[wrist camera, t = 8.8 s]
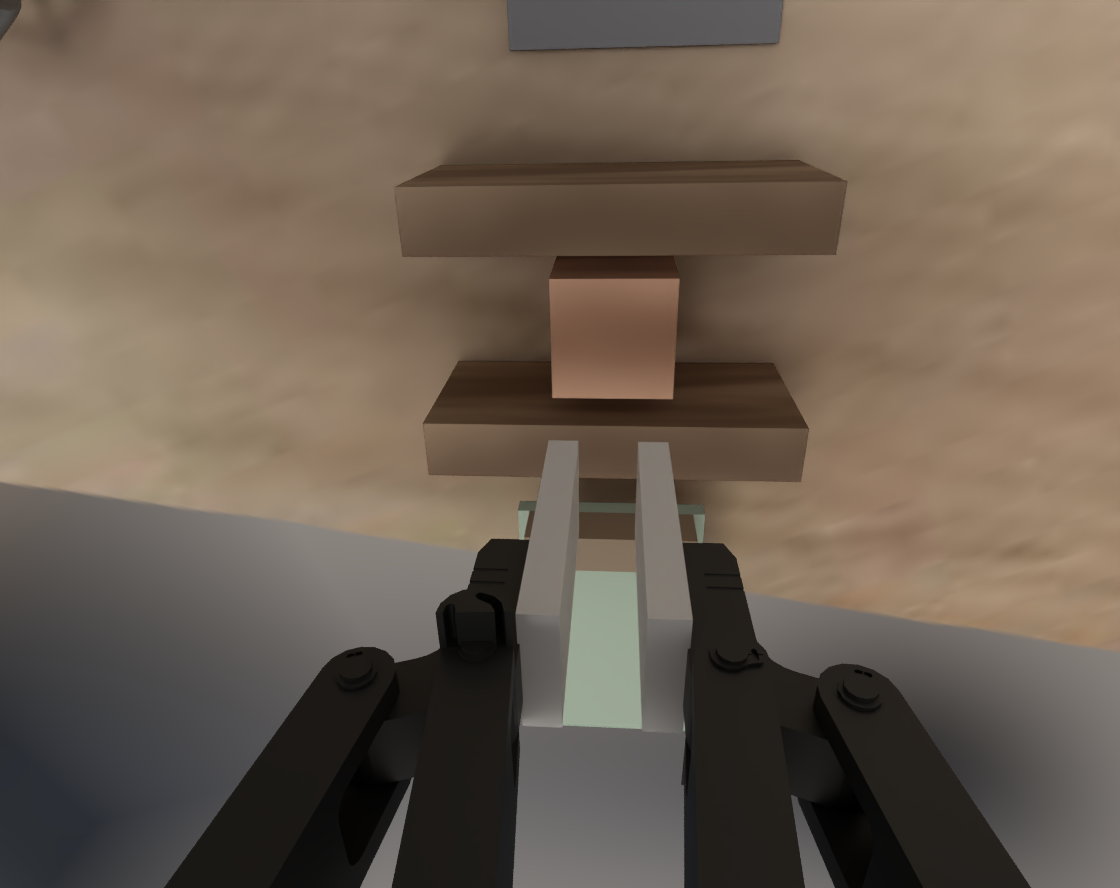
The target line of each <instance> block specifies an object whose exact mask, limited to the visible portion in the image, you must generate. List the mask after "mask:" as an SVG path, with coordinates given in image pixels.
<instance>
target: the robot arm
mask: <svg viewBox="0 0 1120 888" xmlns="http://www.w3.org/2000/svg"><path fill="white" fill-rule="evenodd" d="M578 537H579V446H578V441H562V440H549V441H548V447H547V452H546V457H545V462H544V468H543V473H542V478H541V483H540V488H539V494H538V499H537V504H536V509H535V515H534V520H533V525H532V530H531V536H530V540H518V539H491V540H490V541H489V542H488V543H487V544H486V545H485V546H484V547H483V548H482V549H481V550H480V551H479V552H478V555H477V558H476V562H475V565H474V571H473V572H472V575H471V578H470V584H469V585H468V589H467V590H462V591H460V592H457V593H455V594H452V595H450V596H449V597H448V598H446V599H445V600H444V601H443V602H442V603H440V606H439V607H438V609H437V611H436V620H437V627H438V635H439V643H440V649H438V650H437V651H435V652H433V653H431V654H429V655H427V656H423V657H420V658H416V659H412V660H407V661H402V662H398V663H394V659H393V658H392V657H391V656H390V655H389V654H388V653H387V652H386V651H384V650H381V649H378V648H375V647H359V648H355V649H351V650H347V651H345V652H343V653H341V654H339V655H337V656H335V657H334V658H332V659H331V660H330V661H329V662H328V663H327V664H326V665H325V666H324V667H323V668H322V670H321V671H320V672H319V674H318V675H317V676H316V678H315V679H314V681H313V682H312V683H311V685H310V686H309V688H308V689H307V690H306V692H305V693H304V695H303V696H302V697H301V699H300V700H299V702H298V703H297V704H296V706H295V707H294V708H293V710H292V711H291V712H290V714H289V715H288V717H287V718H286V719H285V721H284V722H283V724H282V725H281V726H280V728H279V729H278V731H277V732H276V733H275V735H274V736H273V737H272V739H271V740H270V742H269V743H268V744H267V746H266V747H265V749H264V750H263V752H262V753H261V754H260V755H259V757H258V758H257V760H256V761H255V762H254V764H253V765H252V767H251V768H250V770H249V771H248V772H247V774H246V775H245V776H244V778H243V779H242V781H241V782H240V783H239V785H238V786H237V788H236V789H235V790H234V792H233V793H232V794H231V796H230V797H229V799H228V800H227V801H226V803H225V804H224V805H223V807H222V808H221V810H220V811H219V812H218V814H217V815H216V817H215V818H214V819H213V821H212V822H211V824H210V825H209V826H208V828H207V829H206V830H205V832H204V833H203V835H202V836H201V838H200V839H199V840H198V841H197V843H196V844H195V846H194V847H193V848H192V850H191V851H190V853H189V854H188V855H187V857H186V858H185V860H184V861H183V862H182V864H181V865H180V867H179V868H178V869H177V871H176V872H175V873H174V875H173V876H172V878H171V879H170V880H169V882H168V883H167V885H166V886H165V887H164V888H360V886H361V884H362V882H363V880H364V878H365V876H366V874H367V871H368V869H369V868H370V865H371V863H372V861H373V859H374V857H375V855H376V853H377V851H378V849H379V847H380V845H381V843H382V840H383V838H384V836H385V834H386V832H387V830H388V828H389V826H390V824H391V822H392V820H393V818H394V815H395V813H396V811H397V809H398V807H399V805H400V803H401V801H402V799H403V797H404V794H405V792H406V790H407V788H408V786H409V784H410V781H411V778H413V777H414V780H413V785H412V790H411V795H410V800H409V805H408V810H407V814H406V819H405V824H404V829H403V835H402V839H401V845H400V849H399V854H398V859H397V864H396V869H395V874H394V879H393V884H392V888H513V869H514V850H515V833H516V814H517V795H518V776H519V758H520V741H519V725H520V718H521V713H522V725H523V726H541V727H562V722H563V711H564V699H565V688H566V676H567V664H568V653H569V641H570V630H571V618H572V606H573V595H574V583H575V572H576V560H577V549H578ZM635 552H636V579H637V606H638V634H639V661H640V689H641V716H642V731H647V732H669V733H670V732H671V733H683V726H684V724H685V734H686V739H685V750H684V762H683V772H682V783H681V784H682V785H684V888H805V885H804V878H803V872H802V865H801V859H800V852H799V846H798V839H797V832H796V826H795V819H794V813H793V807H792V800H791V795H794V796H796V797H798V802H799V805H800V806H801V809H802V811H803V814H804V816H805V819H806V821H807V823H808V826H809V828H810V830H811V833H812V835H813V837H814V840H815V842H816V844H817V847H818V849H819V851H820V854H821V856H822V858H823V860H824V863H825V865H826V868H827V870H828V872H829V875H830V877H831V879H832V882H833V884H834V886H835V888H1031V887H1030V886H1029V884H1028V882H1027V881H1026V879H1025V878H1024V877H1023V875H1022V874H1021V872H1020V870H1019V869H1018V868H1017V866H1016V865H1015V863H1014V862H1013V860H1012V859H1011V857H1010V856H1009V854H1008V853H1007V851H1006V850H1005V848H1004V847H1003V845H1002V844H1001V842H1000V841H999V839H998V838H997V836H996V835H995V833H994V832H993V830H992V829H991V827H990V826H989V824H988V823H987V821H986V820H985V818H984V817H983V815H982V814H981V812H980V811H979V809H978V808H977V806H976V805H975V804H974V802H973V800H972V799H971V797H970V796H969V794H968V793H967V791H966V790H965V788H964V787H963V786H962V784H961V783H960V781H959V779H958V778H957V777H956V775H955V774H954V772H953V771H952V769H951V768H950V766H949V765H948V763H947V762H946V760H945V759H944V757H943V756H942V754H941V753H940V751H939V750H938V748H937V747H936V745H935V744H934V742H933V741H932V739H931V738H930V736H929V735H928V733H927V732H926V730H925V729H924V727H923V726H922V724H921V723H920V721H919V720H918V718H917V717H916V715H915V714H914V712H913V711H912V709H911V708H910V707H909V705H908V703H907V702H906V700H905V699H904V697H903V696H902V695H901V693H900V692H899V690H898V689H897V688H896V687H895V686H894V685H893V684H892V683H891V681H890V680H889V679H888V678H886V677H884V676H882V675H881V674H879V673H878V672H876V671H874V670H872V669H869V668H866V667H863V666H860V665H854V664H853V665H852V664H839V665H835V666H831V667H829V668H827V669H826V670H825V671H824V672H823V673H821V674H820V677H819V678H815V677H812V676H808V675H805V674H801V673H798V672H795V671H792V670H789V669H787V668H784V667H782V666H781V665H779V664H777V663H775V662H774V661H772V660H771V659H770V658H769V657H768V654H767V652H766V650H765V649H764V648H763V647H762V646H761V645H760V644H759V643H758V642H757V640H756V637H755V633H754V629H753V625H752V621H751V617H750V612H749V608H748V604H747V600H746V596H745V592H744V591H743V584H742V580H741V578H740V572H739V568H738V563H737V559H736V557H735V556H734V555H733V554H732V553H731V552H730V551H729V550H728V549H727V547H726V546H725V545H724V544H720V543H684V542H682V538H681V530H680V523H679V516H678V509H677V501H676V494H675V487H674V479H673V472H672V465H671V458H670V450H669V443H668V442H638V458H637V485H636V512H635Z"/></svg>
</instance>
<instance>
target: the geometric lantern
mask: <svg viewBox="0 0 1120 888" xmlns="http://www.w3.org/2000/svg"><path fill="white" fill-rule="evenodd" d="M20 9H21V0H0V40H1V39H2V37H3V36H4V34H5V33H6V32H7V30H8V29H9V27H10V26H11V25H12V23H13V22H14V20H15V18H16V17H17V15H18V13H19V11H20Z"/></svg>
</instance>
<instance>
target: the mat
mask: <svg viewBox="0 0 1120 888" xmlns="http://www.w3.org/2000/svg"><path fill="white" fill-rule="evenodd" d="M782 6H783V0H507V10H508V31H509V50H510V51H523V50H560V49H596V48H633V47H670V46H706V45H743V44H776V43H779V35H780V26H781V16H782Z"/></svg>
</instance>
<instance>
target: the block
mask: <svg viewBox="0 0 1120 888" xmlns="http://www.w3.org/2000/svg"><path fill="white" fill-rule="evenodd" d="M679 280H680V278H679V275H678V272H677V269H676V265H675V262H674V259H673V255H668V256H557V258H556V261H555V264H554V267H553V269H552V272H551V275H550V278H549V295H550V330H551V366H552V398H605V399H673V387H674V370H675V352H676V334H677V316H678V298H679Z"/></svg>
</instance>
